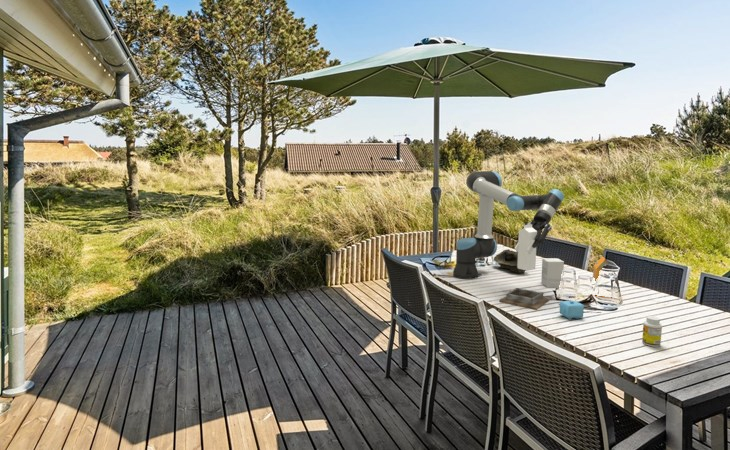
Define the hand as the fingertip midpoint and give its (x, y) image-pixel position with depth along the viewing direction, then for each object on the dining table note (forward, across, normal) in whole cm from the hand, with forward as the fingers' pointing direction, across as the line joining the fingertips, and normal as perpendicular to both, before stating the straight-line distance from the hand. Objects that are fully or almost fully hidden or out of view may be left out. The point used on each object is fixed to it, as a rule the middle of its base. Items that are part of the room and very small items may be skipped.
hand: (522, 250), depth 192 cm
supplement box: (-10, +9, -47) cm, 49 cm away
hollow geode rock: (-17, +43, -54) cm, 71 cm away
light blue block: (+18, -24, -19) cm, 36 cm away
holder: (+16, 0, -21) cm, 26 cm away
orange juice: (-14, -16, -51) cm, 55 cm away
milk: (+4, 0, -9) cm, 10 cm away
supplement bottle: (+19, -57, -18) cm, 63 cm away
